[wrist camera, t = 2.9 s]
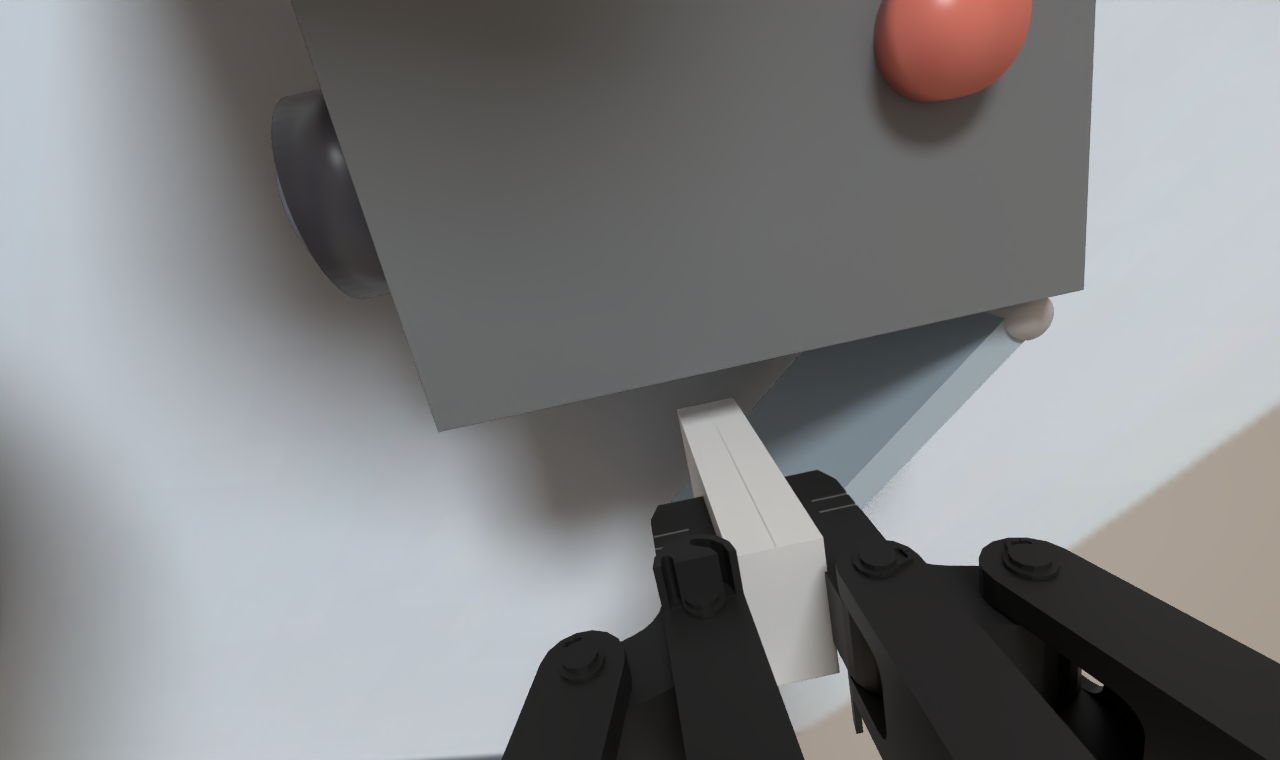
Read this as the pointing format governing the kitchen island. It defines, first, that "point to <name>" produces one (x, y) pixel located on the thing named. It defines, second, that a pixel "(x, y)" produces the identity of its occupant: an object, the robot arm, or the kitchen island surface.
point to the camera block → (681, 178)
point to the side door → (883, 395)
